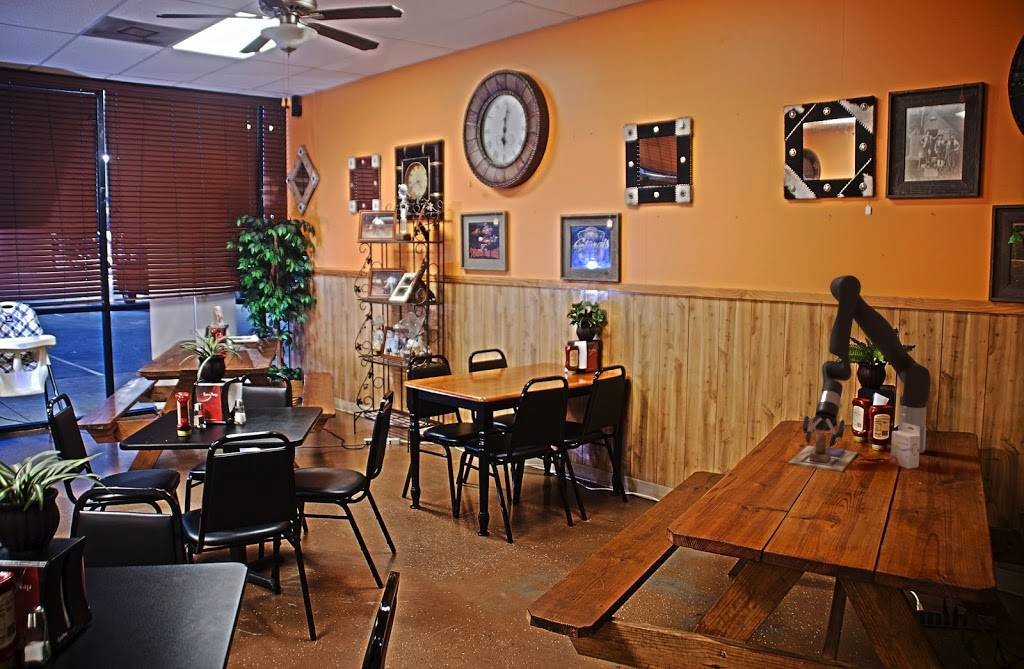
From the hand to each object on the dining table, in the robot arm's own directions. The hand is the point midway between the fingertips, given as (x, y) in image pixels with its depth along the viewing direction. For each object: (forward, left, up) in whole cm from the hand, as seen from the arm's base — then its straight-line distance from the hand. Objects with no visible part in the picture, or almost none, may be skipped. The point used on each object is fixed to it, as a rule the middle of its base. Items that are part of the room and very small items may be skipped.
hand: (819, 443), depth 299 cm
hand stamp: (0, -2, -7) cm, 7 cm away
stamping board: (0, -7, -7) cm, 11 cm away
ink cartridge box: (-26, -14, -8) cm, 31 cm away
